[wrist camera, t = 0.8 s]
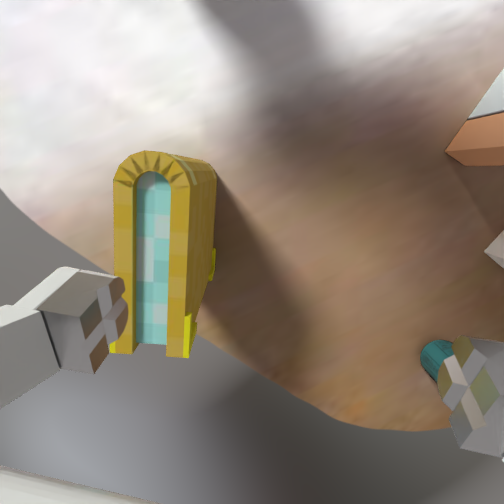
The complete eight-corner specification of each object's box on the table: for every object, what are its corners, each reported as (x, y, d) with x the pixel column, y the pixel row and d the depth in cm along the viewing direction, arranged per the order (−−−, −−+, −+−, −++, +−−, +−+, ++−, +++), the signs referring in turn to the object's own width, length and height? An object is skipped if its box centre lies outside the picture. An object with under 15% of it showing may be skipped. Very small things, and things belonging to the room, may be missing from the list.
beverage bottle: (406, 358, 57) (489, 454, 38) (428, 327, 56) (525, 410, 37) (437, 373, 58) (533, 475, 39) (459, 342, 57) (570, 432, 38)
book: (214, 271, 53) (188, 358, 29) (172, 268, 53) (109, 352, 28) (221, 162, 49) (197, 155, 25) (175, 157, 49) (106, 147, 24)
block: (465, 166, 50) (547, 164, 36) (444, 151, 49) (520, 144, 35) (487, 135, 49) (580, 122, 35) (466, 120, 48) (553, 101, 34)
